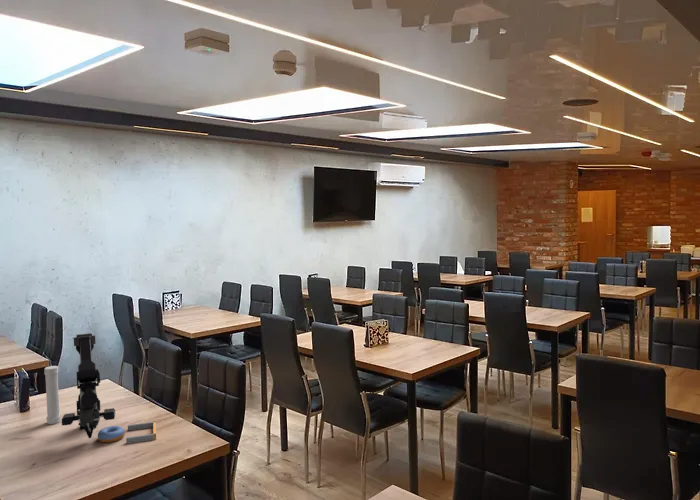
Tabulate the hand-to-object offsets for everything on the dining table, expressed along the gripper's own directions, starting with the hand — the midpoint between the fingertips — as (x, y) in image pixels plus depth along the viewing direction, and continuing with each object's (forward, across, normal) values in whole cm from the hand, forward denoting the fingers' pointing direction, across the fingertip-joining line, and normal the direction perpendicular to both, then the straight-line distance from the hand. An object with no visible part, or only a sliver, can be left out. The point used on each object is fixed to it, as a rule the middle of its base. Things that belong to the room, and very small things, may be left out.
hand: (90, 437), depth 215 cm
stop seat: (+2, +19, 0) cm, 19 cm away
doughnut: (+2, +8, +1) cm, 8 cm away
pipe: (+2, -18, +29) cm, 34 cm away
